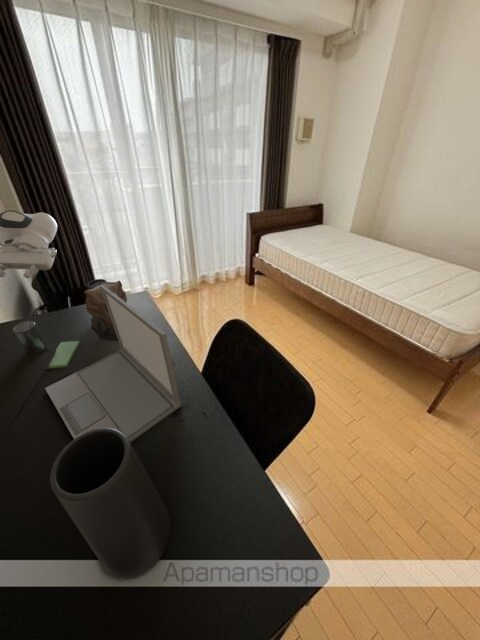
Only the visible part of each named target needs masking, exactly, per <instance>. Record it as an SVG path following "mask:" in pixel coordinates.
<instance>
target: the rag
mask: <svg viewBox="0 0 480 640" xmlns="http://www.w3.org/2000/svg"><path fill="white" fill-rule="evenodd" d="M80 344H81V341H80V340H74V341H61V342H60V343H59V344H58V346H57V347H56V349H55V352H54V354H53V356H52V358H51V359H50V361H49V362H48V363H47V365H46V367H45V369H46V370H47V369H58V368H68V365H69V364H70V362H71V360H72V358H73V357H74V355H75V353H76V351H77V349H78V348H79V345H80Z"/></svg>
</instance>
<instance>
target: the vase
mask: <svg viewBox="0 0 480 640" xmlns="http://www.w3.org/2000/svg"><path fill="white" fill-rule="evenodd" d="M50 471H51V472H50V477H49V482H50V487H51V490H52V492H53V493H54V494H55V497H56V498H57V500H58V501H59V503H60V504H61V505H62V507H63V508H64V510H65V511H66V512H67V515H68V516H69V517H70V519H71V520H72V522H73V523H74V525H75V527H76V528H77V529H78V531H79V533H80V534H81V535H82V537H83V538H84V540H85V542H86V543H87V544H88V546H89V547H90V549H91V550H92V551H93V553H94V554H95V556H96V557H97V559H98V560H99V562H100V563H101V565H102V566H103V568H104V569H105V570H106V571H107V572H108V574H110V575H111V576H112V575H113V576H112V577H114V578H116V577H117V578H116V579H119V578H123V579H122V580H130V579H129V578H132V579H135V577H136V578H139V577H141V576H143V575H145V574H146V573H147V572H149V571H150V570H151V569H152V568H154V567H155V565H156V564H157V563H158V562H159V561H160V560H161V559H162V557H163V555H164V554H165V552H166V549H167V547H168V545H169V541H170V539H171V538H170V537H171V533H172V521H171V516H170V513H169V510H168V509H167V507H166V504H165V503H164V501H163V500H162V498H161V496H160V493H159V491H158V490H157V488H156V487H155V485H154V483H153V481H152V479H151V478H150V476H149V474H148V472H147V471H146V468H145V467H144V465H143V463H142V461H141V459H140V458H139V456H138V454H137V451H135V449H134V447H133V445H132V442H131V443H130V442H129V440H128V438H127V437H126V436H125V435H124V434H123V433H122V432H121V431H119V430H116V429H113V428H99V429H94V430H91V431H88V432H86V433H84V434H82V435H80V436H78V437H77V438H75V439H74V438H73V440H71V441H70V442H69V443H68V444H67V445H66V446H65V447H64V448H62V450H61V451H60V453H59V454H58V455H57V457H56V459H55V460H54V462H53V464H52V467H51V470H50Z"/></svg>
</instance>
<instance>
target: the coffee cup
mask: <svg viewBox="0 0 480 640" xmlns="http://www.w3.org/2000/svg"><path fill="white" fill-rule="evenodd" d="M104 282H108V281H107V280H106V279H103V278H96V279H93V280H90V281H88V282H87V284H86V290H88V289H93V288H95V287H96V286H99V285H101V283H104Z"/></svg>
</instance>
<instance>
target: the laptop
mask: <svg viewBox="0 0 480 640" xmlns="http://www.w3.org/2000/svg"><path fill="white" fill-rule="evenodd" d="M100 288H101V291H102V294H103V297H104V300H105V303H106V306H107V309H108V312H109V315H110V318H111V321H112V323H113V326H114V329H115V332H116V335H117V338H118V341H117V342H118V344H119V347H120V349H119V350H118V351H115V352H114V353H111V354H109V355H108V356H106V357H103V358H101V359H99V360H98V361H95V362H93V363H91V364H89V365H88V366H86V367H84V368H82V369H79V370H78V371H76V372H74V373H72V374H70V375H68V376H66V377H64V378H62V379H60V380H58V381H57V382H54V383H52V384H50V385H49V386H46V387H45V388H44V389H45V391H46V393H47V394H48V397H49V398H50V400H51V402H52V404H53V405H54V408H55V409H56V410H57V412H58V414H59V416H60V417H61V419H62V421H63V422H64V425H65V426H66V428H67V430H68V432H69V433H70V435H71V436H72V438H73V440H74V439H75V438H77V437H78V436H80V435H82V434H84V433H86V432H88V431H91V430H94V429H99V428H113V429H116V430H119V431H121V432H122V433H123V434H124V435H125V436H126V437H127V438H128V440H129V442H130V443H131V444H132V443H133V441H135V440H136V439H138V438H139V437H141V436H142V435H143V434H144V433H146V432H148V431H149V430H150V429H152V428H153V427H155V426H156V425H157V424H159V423H160V422H162V421H163V420H164V419H165V418H167V417H168V416H169V415H171V414H172V413H174V412H176V410H178V409H180V408H181V407H182V402H181V397H180V394H179V389H178V385H177V380H176V374H175V370H174V365H173V360H172V356H171V351H170V346H169V342H168V336H167V333H166V332H165V331H164V330H162V329H161V328H160V327H159V326H158V325H156V324H155V323H153V322H152V321H151V320H150V319H148V318H147V317H145V316H144V315H143V314H142V313H140V312H139V311H138V310H137V309H135V308H134V307H133V306H131V305H130V304H129V303H128V302H127V303H126V302H125V301H123V300H122V299H121V298H119V297H118V296H117V295H116V294H114V293H113V292H112V291H110V290H109V289H108V288H106V287H105V286H104V285H100Z"/></svg>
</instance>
